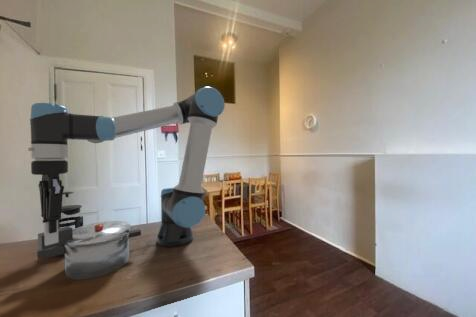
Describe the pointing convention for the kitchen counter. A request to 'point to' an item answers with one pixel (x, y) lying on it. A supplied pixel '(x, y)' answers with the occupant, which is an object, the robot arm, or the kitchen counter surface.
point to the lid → (88, 234)
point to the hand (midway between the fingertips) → (51, 243)
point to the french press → (70, 211)
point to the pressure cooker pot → (92, 257)
